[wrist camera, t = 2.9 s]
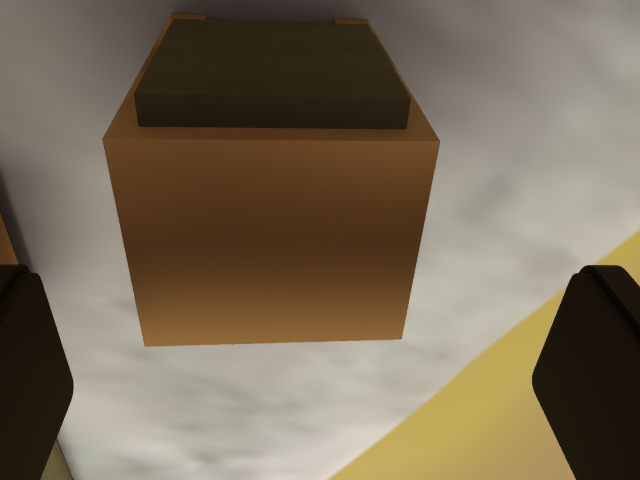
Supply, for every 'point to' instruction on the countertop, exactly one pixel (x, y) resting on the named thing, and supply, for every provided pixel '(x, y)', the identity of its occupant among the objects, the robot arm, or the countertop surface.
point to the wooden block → (6, 246)
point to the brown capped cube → (270, 183)
